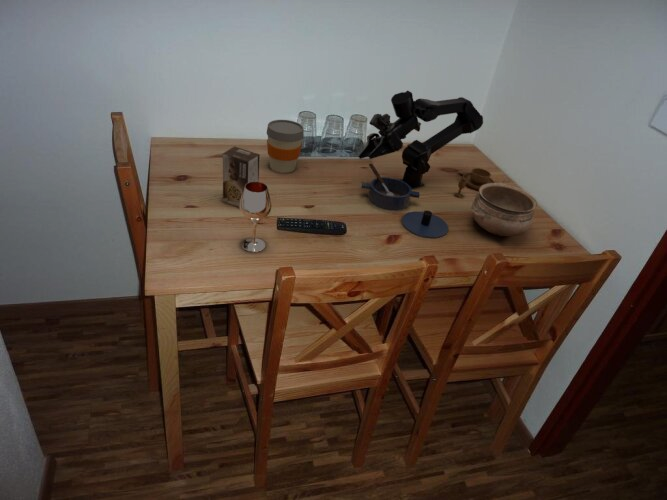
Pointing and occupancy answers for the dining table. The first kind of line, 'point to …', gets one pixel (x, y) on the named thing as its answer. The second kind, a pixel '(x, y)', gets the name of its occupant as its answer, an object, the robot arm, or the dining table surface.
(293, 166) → the reusable coffee cup
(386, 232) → the dining table surface
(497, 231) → the cooking pot
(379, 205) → the saucepan
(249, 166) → the coffee box
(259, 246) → the wineglass
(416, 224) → the lid
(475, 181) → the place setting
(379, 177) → the fork
